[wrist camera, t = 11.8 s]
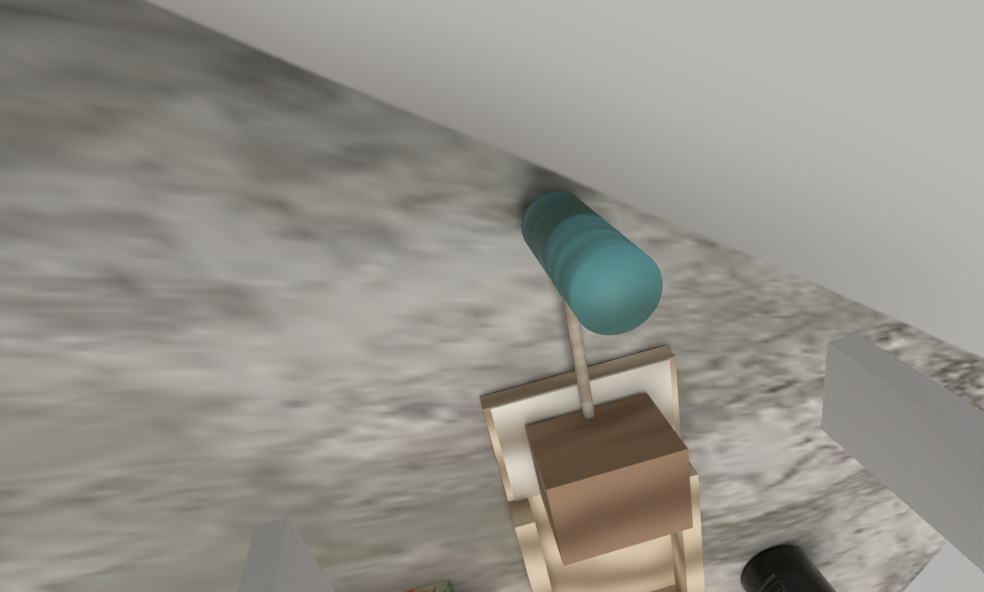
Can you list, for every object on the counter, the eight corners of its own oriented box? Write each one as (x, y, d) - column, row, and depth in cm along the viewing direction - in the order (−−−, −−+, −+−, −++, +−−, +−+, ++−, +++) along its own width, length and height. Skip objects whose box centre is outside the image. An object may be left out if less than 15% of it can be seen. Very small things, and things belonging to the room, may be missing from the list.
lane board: (479, 397, 38) (494, 459, 33) (665, 345, 39) (712, 397, 33) (541, 618, 50) (560, 694, 44) (683, 575, 51) (721, 644, 45)
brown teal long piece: (473, 211, 31) (505, 279, 22) (623, 172, 31) (716, 222, 22) (541, 497, 41) (582, 624, 32) (654, 465, 41) (726, 581, 32)
